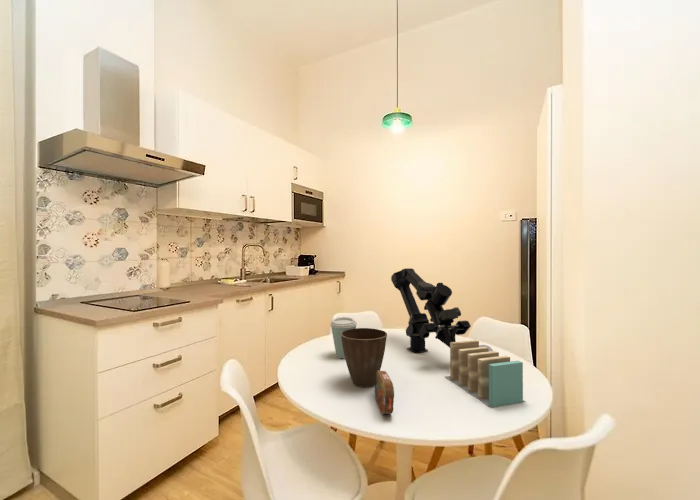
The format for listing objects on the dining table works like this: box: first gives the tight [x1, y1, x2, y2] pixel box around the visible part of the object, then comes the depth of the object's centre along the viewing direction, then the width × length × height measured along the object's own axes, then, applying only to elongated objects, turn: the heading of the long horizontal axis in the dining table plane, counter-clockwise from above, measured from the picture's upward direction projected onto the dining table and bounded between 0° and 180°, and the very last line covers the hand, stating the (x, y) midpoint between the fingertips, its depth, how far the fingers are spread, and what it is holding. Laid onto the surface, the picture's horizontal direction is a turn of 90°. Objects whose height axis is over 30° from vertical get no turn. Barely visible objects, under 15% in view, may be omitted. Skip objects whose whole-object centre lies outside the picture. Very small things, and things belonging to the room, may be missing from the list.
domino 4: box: [478, 355, 511, 399], centre depth 91 cm, size 2×10×11 cm, turn 107°
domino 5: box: [489, 360, 524, 408], centre depth 86 cm, size 2×10×11 cm, turn 106°
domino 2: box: [459, 347, 489, 386], centre depth 99 cm, size 2×10×11 cm, turn 106°
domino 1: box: [449, 339, 480, 381], centre depth 104 cm, size 2×10×12 cm, turn 107°
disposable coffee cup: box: [330, 316, 357, 360], centre depth 127 cm, size 11×11×15 cm
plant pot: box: [341, 327, 388, 388], centre depth 101 cm, size 15×15×16 cm
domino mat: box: [444, 375, 527, 409], centre depth 96 cm, size 22×12×1 cm, turn 16°
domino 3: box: [468, 350, 500, 393], centre depth 95 cm, size 2×10×11 cm, turn 107°
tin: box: [374, 370, 395, 415], centre depth 86 cm, size 15×3×8 cm, turn 5°
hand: (454, 350), depth 109 cm, fingers closed
